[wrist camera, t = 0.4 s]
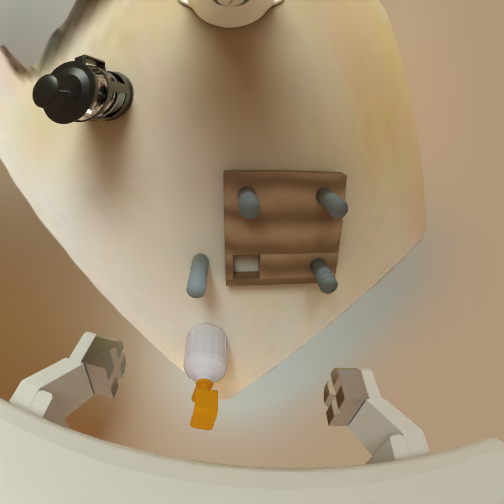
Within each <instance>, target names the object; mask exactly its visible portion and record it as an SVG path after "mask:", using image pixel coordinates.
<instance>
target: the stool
mask: <svg viewBox="0 0 504 504" xmlns="http://www.w3.org/2000/svg"><path fill="white" fill-rule="evenodd" d="M346 176H347V175H345V174H343V173H341V172H321V171H287V170H225V171H224V226H225V263H226V286H237V285H272V284H299V283H318V285H319V287H320V289H321V291H322V292H323V293H326V294H329V293H332V292H334V291H335V290H336V288H337V286H338V283H337V281H336V279H335V273H336V266H337V258H338V251H339V243H340V235H341V227H342V218H343V217H344V216H345V215H346V213H347V211H348V205H347V203H346V202H345V201H344V198H345V188H346ZM233 255H259V271H257V272H233Z"/></svg>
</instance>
